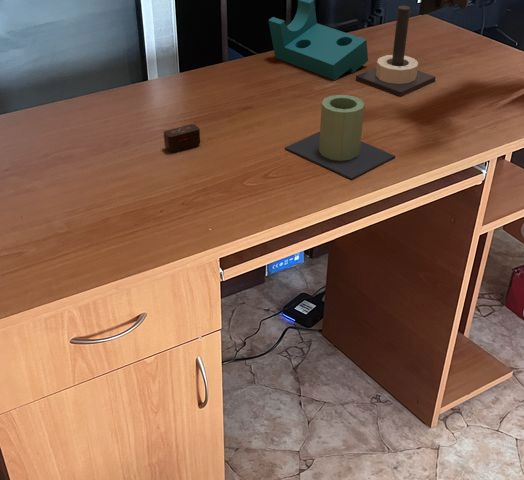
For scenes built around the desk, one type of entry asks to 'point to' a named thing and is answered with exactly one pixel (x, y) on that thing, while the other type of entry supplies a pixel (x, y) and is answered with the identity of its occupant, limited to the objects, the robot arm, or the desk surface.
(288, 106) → the desk surface
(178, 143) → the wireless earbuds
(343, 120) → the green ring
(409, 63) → the cream ring
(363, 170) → the mat
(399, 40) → the stack stand
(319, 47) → the teal l-shaped bracket
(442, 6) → the robot arm
